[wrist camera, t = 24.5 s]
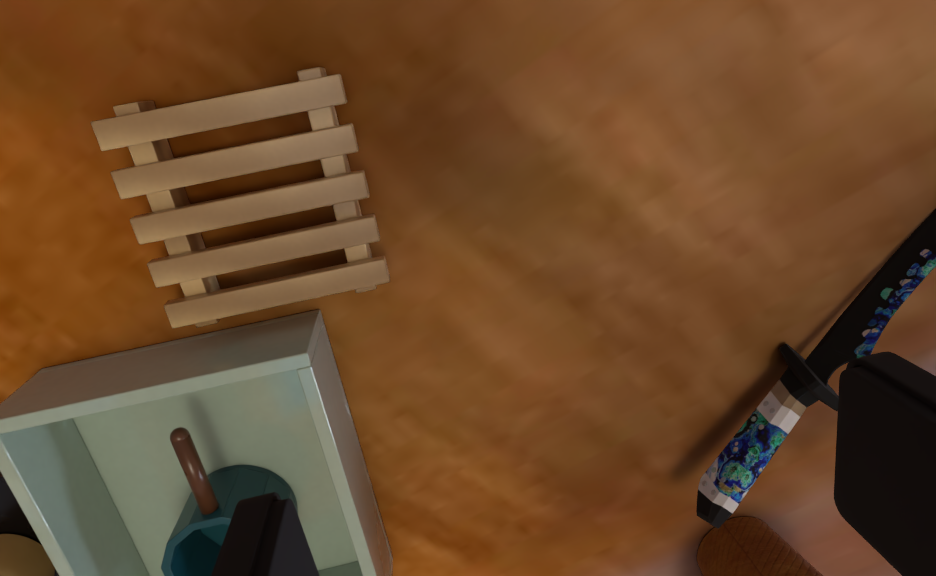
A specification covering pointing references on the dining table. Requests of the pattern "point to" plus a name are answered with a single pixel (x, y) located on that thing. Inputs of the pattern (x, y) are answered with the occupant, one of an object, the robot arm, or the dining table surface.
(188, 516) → the pan
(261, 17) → the dining table surface
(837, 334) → the knife
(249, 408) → the pale green open box
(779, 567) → the disposable coffee cup
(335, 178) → the rack
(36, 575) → the tap knob
